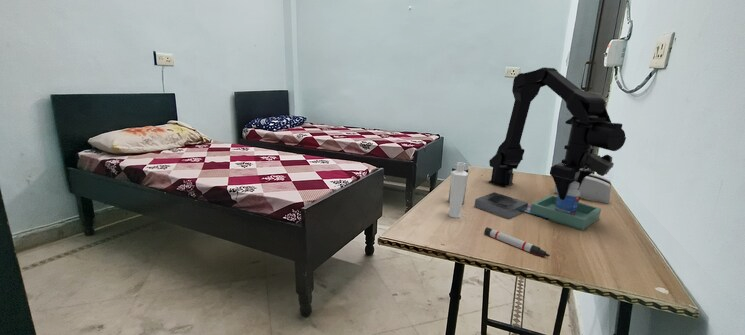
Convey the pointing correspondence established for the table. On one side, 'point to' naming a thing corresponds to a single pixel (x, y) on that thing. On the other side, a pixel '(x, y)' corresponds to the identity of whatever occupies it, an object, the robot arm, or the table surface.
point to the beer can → (454, 170)
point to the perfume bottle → (457, 190)
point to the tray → (579, 221)
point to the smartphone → (530, 213)
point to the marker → (515, 242)
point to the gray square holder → (493, 205)
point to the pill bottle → (569, 200)
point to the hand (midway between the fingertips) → (568, 196)
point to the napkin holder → (594, 188)
